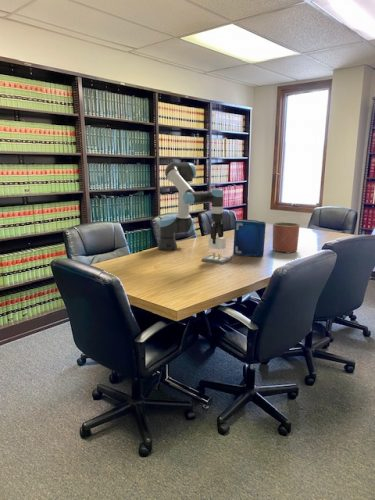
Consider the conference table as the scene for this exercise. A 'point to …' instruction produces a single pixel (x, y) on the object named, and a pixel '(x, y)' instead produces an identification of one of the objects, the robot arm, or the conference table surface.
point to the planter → (285, 236)
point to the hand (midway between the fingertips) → (217, 247)
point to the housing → (218, 242)
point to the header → (216, 259)
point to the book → (249, 238)
